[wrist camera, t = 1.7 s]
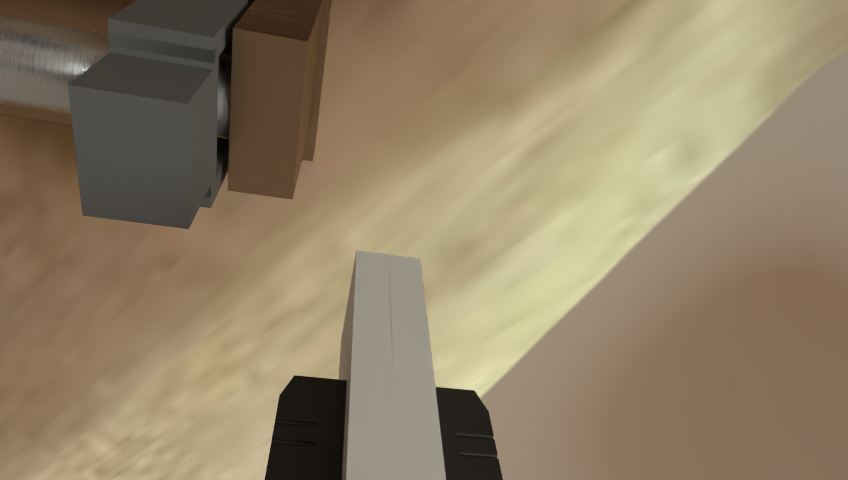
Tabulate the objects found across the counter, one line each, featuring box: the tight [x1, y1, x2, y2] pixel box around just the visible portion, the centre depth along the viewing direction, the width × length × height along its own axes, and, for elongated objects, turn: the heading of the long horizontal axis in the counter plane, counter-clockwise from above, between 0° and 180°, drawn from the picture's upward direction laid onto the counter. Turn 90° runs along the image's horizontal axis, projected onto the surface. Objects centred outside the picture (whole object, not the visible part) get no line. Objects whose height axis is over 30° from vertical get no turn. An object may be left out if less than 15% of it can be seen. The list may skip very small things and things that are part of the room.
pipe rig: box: [0, 0, 331, 199], centre depth 23 cm, size 10×23×9 cm, turn 78°
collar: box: [68, 0, 248, 229], centre depth 21 cm, size 6×3×9 cm, turn 168°
